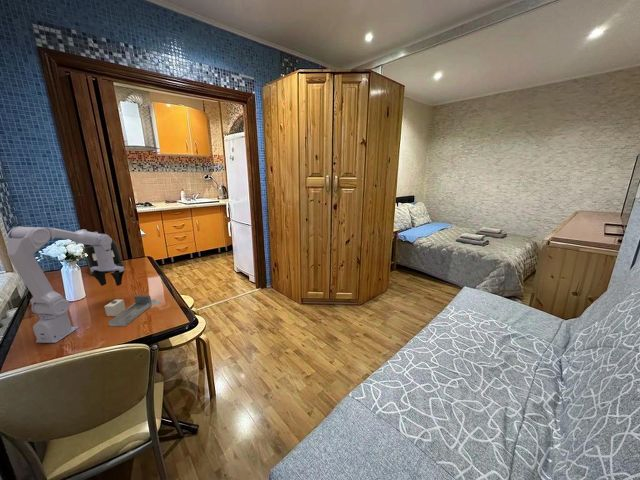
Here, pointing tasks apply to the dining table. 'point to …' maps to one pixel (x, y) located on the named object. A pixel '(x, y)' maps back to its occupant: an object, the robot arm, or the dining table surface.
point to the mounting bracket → (155, 302)
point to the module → (115, 307)
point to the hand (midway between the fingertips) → (111, 284)
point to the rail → (132, 311)
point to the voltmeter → (93, 260)
